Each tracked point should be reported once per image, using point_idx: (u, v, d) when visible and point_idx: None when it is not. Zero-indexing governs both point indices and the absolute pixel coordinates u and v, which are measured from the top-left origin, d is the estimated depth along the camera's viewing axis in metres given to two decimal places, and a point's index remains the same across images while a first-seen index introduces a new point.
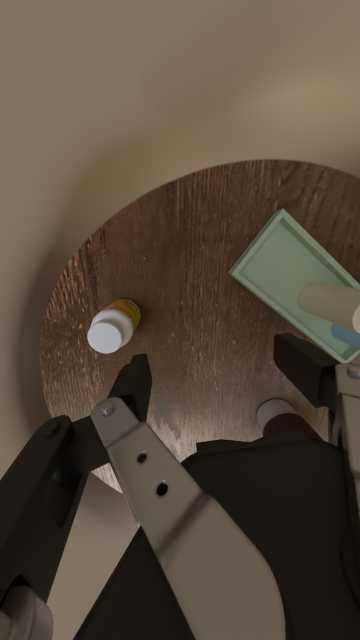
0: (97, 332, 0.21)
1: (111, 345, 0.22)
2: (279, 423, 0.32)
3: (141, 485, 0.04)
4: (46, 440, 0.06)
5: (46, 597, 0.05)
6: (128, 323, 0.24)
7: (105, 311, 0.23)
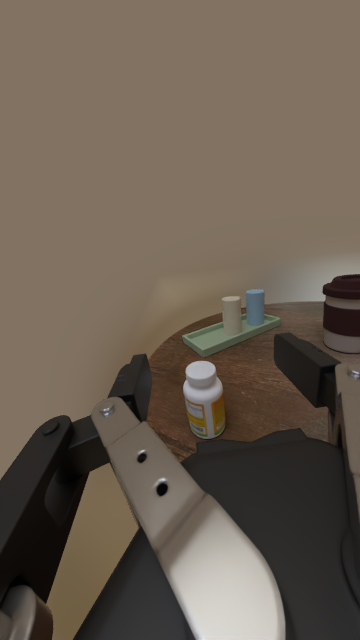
0: (192, 371, 0.24)
1: (208, 367, 0.25)
2: (330, 324, 0.39)
3: (141, 485, 0.04)
4: (46, 440, 0.06)
5: (46, 597, 0.05)
6: None
7: (184, 383, 0.26)
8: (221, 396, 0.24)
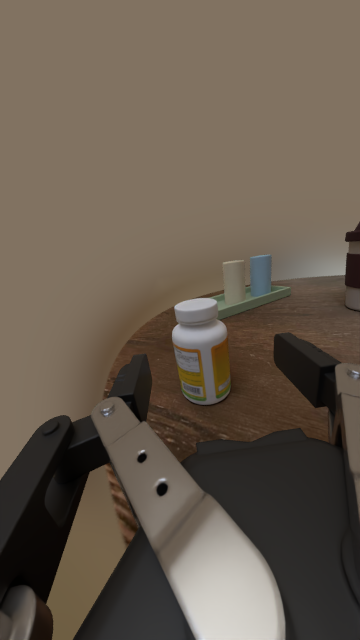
0: (184, 306, 0.17)
1: (207, 301, 0.17)
2: (356, 278, 0.31)
3: (141, 485, 0.04)
4: (46, 440, 0.06)
5: (46, 597, 0.05)
6: None
7: (173, 330, 0.19)
8: (225, 341, 0.17)
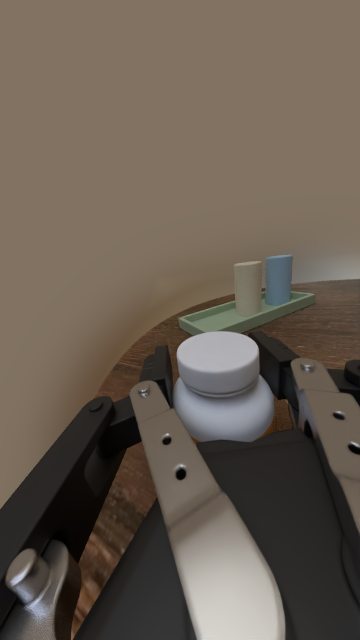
0: (195, 352, 0.09)
1: (236, 342, 0.09)
2: None
3: (163, 465, 0.04)
4: (91, 416, 0.07)
5: (80, 554, 0.05)
6: None
7: (174, 386, 0.11)
8: (273, 420, 0.09)
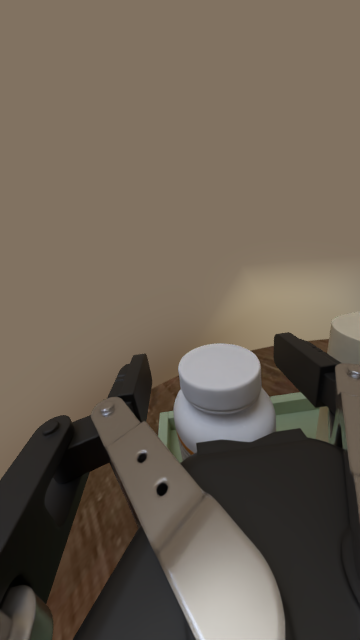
0: (196, 367, 0.09)
1: (238, 356, 0.09)
2: None
3: (141, 485, 0.04)
4: (46, 440, 0.06)
5: (46, 597, 0.05)
6: None
7: (176, 398, 0.11)
8: None
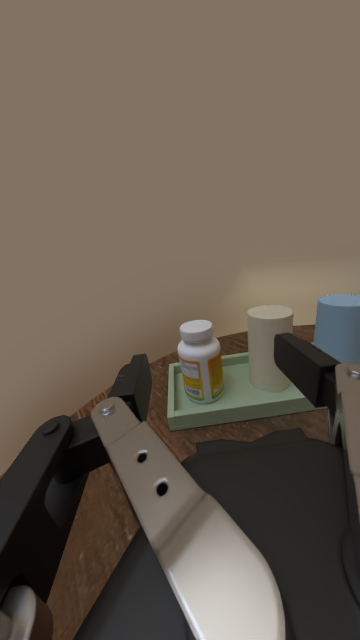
0: (187, 327, 0.22)
1: (204, 323, 0.23)
2: None
3: (141, 485, 0.04)
4: (46, 440, 0.06)
5: (46, 597, 0.05)
6: None
7: None
8: (219, 354, 0.22)
